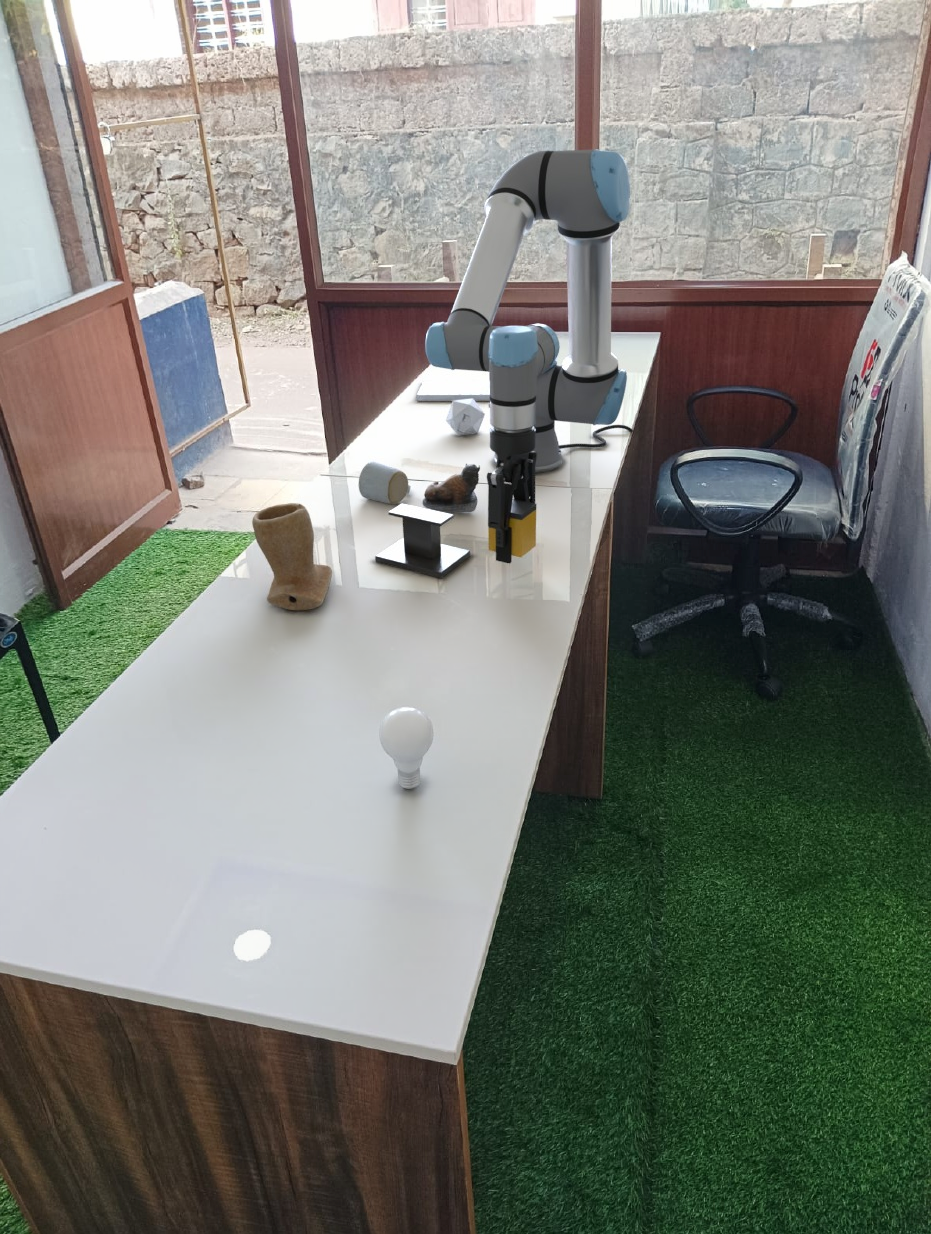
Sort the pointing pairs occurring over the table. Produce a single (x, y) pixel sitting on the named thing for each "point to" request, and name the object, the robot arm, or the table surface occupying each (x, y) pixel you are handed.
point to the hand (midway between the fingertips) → (512, 554)
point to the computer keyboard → (454, 390)
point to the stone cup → (291, 557)
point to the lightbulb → (406, 742)
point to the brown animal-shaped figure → (454, 492)
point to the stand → (422, 543)
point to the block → (519, 528)
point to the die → (465, 417)
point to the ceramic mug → (383, 483)
